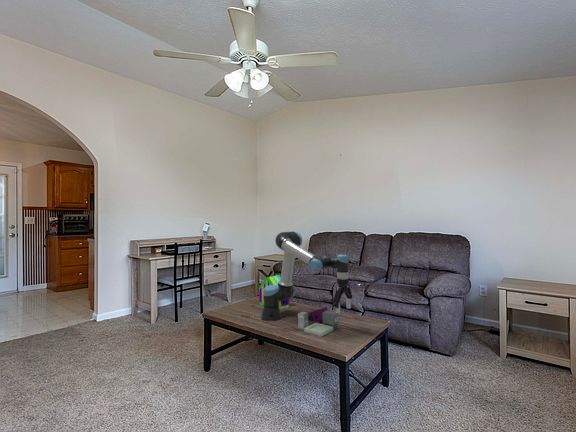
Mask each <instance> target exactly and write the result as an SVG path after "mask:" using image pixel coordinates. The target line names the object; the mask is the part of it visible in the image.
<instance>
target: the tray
mask: <svg viewBox="0 0 576 432" xmlns="http://www.w3.org/2000/svg"><path fill="white" fill-rule="evenodd" d="M333 331H334V330H333V327H332V326H328V325H323V323H320V322H319V323H317V322H314V323H313V324H310V325H308V327H306V328H304V330H303V332H304V333H307V334H311V335H314V336H318V337H322V338H323V337H324V336H326V335H327V334H330V333H331V332H333Z"/></svg>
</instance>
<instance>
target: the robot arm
mask: <svg viewBox="0 0 576 432" xmlns="http://www.w3.org/2000/svg"><path fill="white" fill-rule="evenodd" d="M302 244H303V238H302V235H301V234H300V232H297V231H282V232H279V233H278V234H277V235H276V236H275V245H276V246H277V248H278V249H280V250H281V251H283V260H282V266H281V273H280V276H281V280H280V281H279V282H278V285H269V286H266V287H265V288H264V292H263V299H264V306H263V309H262V312H261V315H260V316H261V318H260V319H262V320H263V321H268V322H269V321H271V322H272V321H278V320H281V319H282V316H283V315H282V312H281V309H280V308H279V302H280V301H284V300H289V301H290V300H291V299H293V297H294V296H295V294H296V290H295V289H296V288H295V286H294V283H293V282H292V279H293V274H294V272H293V271H294V264H295V259H296V258H297V259H299V260H300V261H302V262H303V263H305V264H307V265H308V266H309V268H310V270H311V271H313V272H318V271H322V270H326V269H336V278H337V279H336V284H337V285H338V286H337V287H335V294H334V296H333V297H334V298H333V302H332V303H335V312H336V313H338V315H339V314H341V303H340V302H341V298H342V296H343V295H345V297H346V299H345V300H346V302H345V303H346V306H345V307H346V309H348V310H349V309H351V300H352V299H353V294H352V293H353V292H352V291H351V286H350V284H349V283H350V281H349V276H350V274H349V273H350V272H349V271H350V270H349V255H347V254H337V255H336V257H334V256H329V255H328V256H327V255H326V256H323V257H318V256H316V255H315V254H313V253H311V252H310V251H309V250H306V249H304V247H301V246H302Z"/></svg>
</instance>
